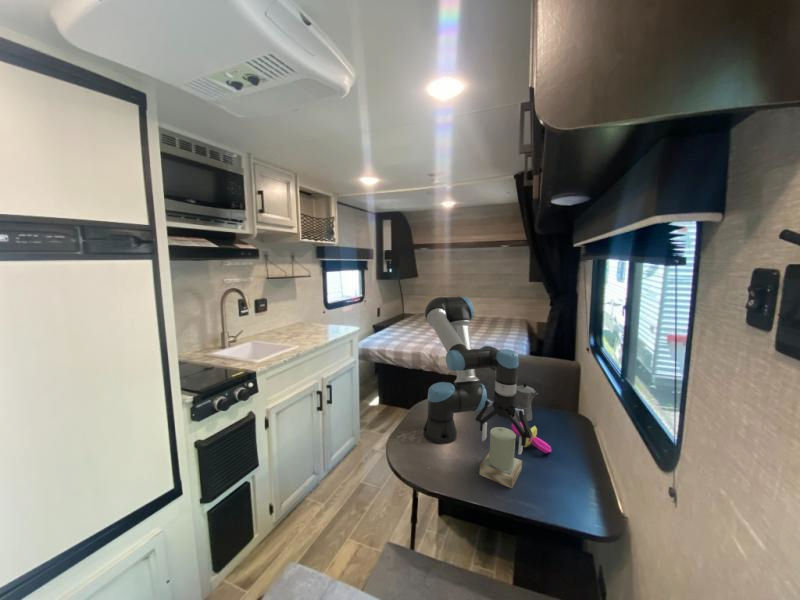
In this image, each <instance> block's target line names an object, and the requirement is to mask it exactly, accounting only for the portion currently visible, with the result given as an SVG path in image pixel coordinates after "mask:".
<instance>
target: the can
mask: <svg viewBox="0 0 800 600" xmlns="http://www.w3.org/2000/svg"><path fill="white" fill-rule="evenodd" d="M489 433H490V434H489V451H488V453H489V462H490V464H491V465H492V466H494V467H495V468H498V469H501V470H509V469H512V468H513V467H514V458H515V450H516V437H517V435H516V434H515V433H514V432H513V431H512V429H509V428H508V427H503V426H497V427H496V426H495V427H493V428H491V429H490V431H489Z"/></svg>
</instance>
